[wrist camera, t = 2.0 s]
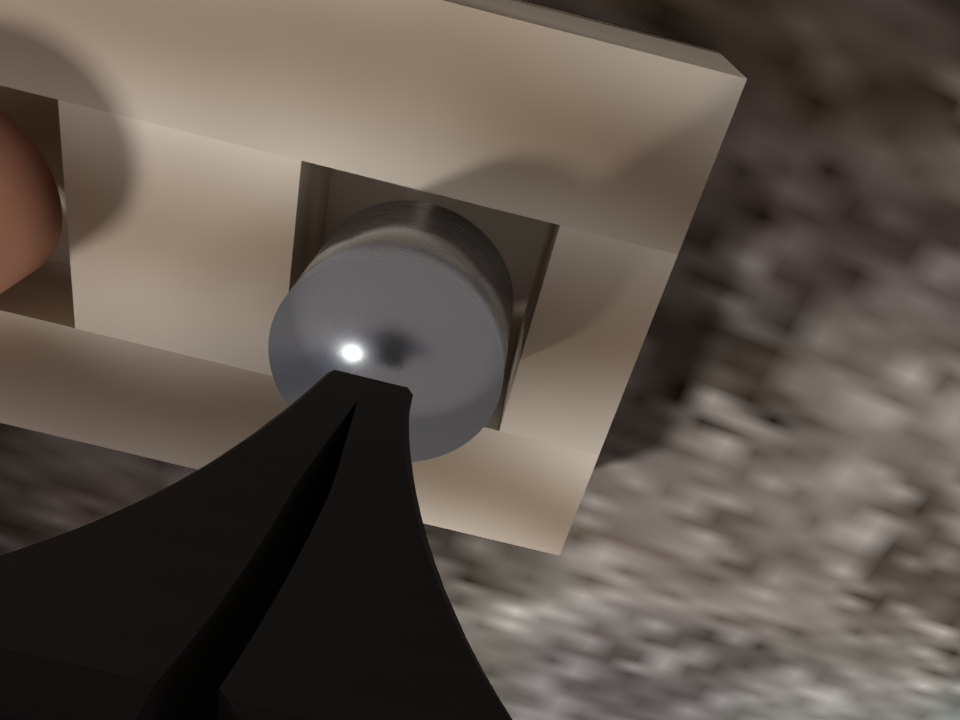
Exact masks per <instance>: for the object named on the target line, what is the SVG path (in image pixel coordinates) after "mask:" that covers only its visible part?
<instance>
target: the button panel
mask: <svg viewBox="0 0 960 720" xmlns="http://www.w3.org/2000/svg"><path fill="white" fill-rule="evenodd" d="M746 81H747V78H746V77H745V76H744V75H743V74H742V73H741V72H739V71H738V70H737V69H736V68H735V67H734V66H733V65H732V64H731V63H730V62H729V61H728V60H727V59H726V58H725V57H724V56H723V55H721V54H720V53H719V52H718V51H716V50H712V49H708V48H704V47H700V46H696V45H692V44H688V43H685V42H681V41H677V40H673V39H669V38H665V37H661V36H657V35H654V34H650V33H646V32H642V31H638V30H634V29H630V28H626V27H623V26H619V25H615V24H611V23H607V22H603V21H599V20H596V19H592V18H588V17H584V16H580V15H576V14H572V13H568V12H565V11H561V10H557V9H553V8H549V7H545V6H541V5H537V4H534V3H530V2H526V1H522V0H0V110H2V111H3V112H4V113H5V114H6V115H8V116H9V117H10V118H11V119H12V120H13V121H14V122H15V123H16V124H17V125H18V126H19V127H20V128H21V129H22V130H23V131H24V132H25V133H26V134H27V135H28V137H29V138H30V139H31V140H32V142H33V143H34V144H35V145H36V147H37V148H38V150H39V151H40V153H41V154H42V156H43V157H44V159H45V161H46V163H47V165H48V166H49V168H50V170H51V172H52V175H53V177H54V180H55V182H56V185H57V188H58V192H59V195H60V199H61V206H62V229H61V235H60V238H59V241H58V245H57V246H56V248H55V250H54V252H53V254H52V255H51V256H50V258H49V259H48V260H47V262H45V263H44V264H43V265H42V266H41V267H40V268H38V269H37V270H35V271H34V272H32V273H31V274H29V275H28V276H26V277H25V278H24V279H22V280H21V281H19V282H18V283H16V284H15V285H13V286H12V287H10V288H9V289H7V290H6V291H4V292H3V293H1V294H0V423H4V424H8V425H12V426H16V427H20V428H25V429H29V430H33V431H37V432H41V433H46V434H50V435H54V436H58V437H62V438H67V439H71V440H75V441H79V442H84V443H88V444H92V445H96V446H100V447H105V448H109V449H113V450H117V451H121V452H126V453H130V454H134V455H138V456H142V457H147V458H151V459H155V460H159V461H164V462H168V463H172V464H176V465H180V466H185V467H189V468H193V469H197V470H199V469H200V468H202V467H203V466H205V465H207V464H208V463H210V462H212V461H213V460H215V459H216V458H218V457H219V456H221V455H222V454H224V453H225V452H227V451H228V450H230V449H231V448H233V447H234V446H236V445H237V444H239V443H240V442H242V441H243V440H245V439H246V438H248V437H249V436H250V435H252V434H253V433H255V432H256V431H257V430H259V429H260V428H261V427H263V426H264V425H265V424H267V423H268V422H269V421H271V420H272V419H273V418H274V417H276V416H277V415H278V414H280V413H281V412H282V411H284V410H285V409H286V408H287V407H288V406H287V404H286V403H285V401H284V399H283V398H282V396H281V394H280V393H279V390H278V388H277V386H276V384H275V381H274V379H273V375H272V372H271V368H270V363H269V356H268V339H269V333H270V327H271V324H272V321H273V318H274V315H275V313H276V311H277V309H278V308H279V306H280V304H281V302H282V301H283V299H284V298H285V297H286V295H287V294H288V293H289V291H290V290H291V289H292V287H293V286H294V284H295V283H296V282H297V280H298V279H299V278H300V276H301V275H302V274H303V272H304V271H305V269H306V268H307V267H308V265H309V264H310V263H311V261H312V260H313V258H314V257H315V256H316V254H317V253H318V252H319V250H320V249H321V248H322V246H323V245H324V243H325V242H326V241H327V239H328V238H329V237H330V235H331V234H332V233H333V231H334V230H335V229H336V228H337V227H338V226H339V225H340V224H341V223H342V222H343V221H345V220H346V219H348V218H349V217H350V216H352V215H353V214H355V213H357V212H359V211H361V210H363V209H364V208H367V207H370V206H373V205H376V204H380V203H384V202H389V201H401V200H407V201H420V202H425V203H431V204H434V205H437V206H441V207H444V208H446V209H449V210H451V211H453V212H455V213H457V214H459V215H461V216H462V217H464V218H466V219H467V220H469V221H470V222H472V223H473V224H474V225H475V226H477V227H478V228H479V229H480V230H481V231H482V232H483V233H484V234H485V235H486V236H487V237H488V238H489V239H490V240H491V241H492V243H493V244H494V245H495V247H496V248H497V249H498V251H499V252H500V254H501V256H502V258H503V260H504V261H505V264H506V266H507V269H508V271H509V274H510V278H511V282H512V287H513V298H514V299H513V313H512V320H511V327H510V335H509V342H508V349H507V356H506V363H505V371H504V378H503V385H502V390H501V395H500V398H499V401H498V404H497V406H496V409H495V411H494V412H493V414H492V416H491V418H490V420H489V421H488V422H487V423H486V425H485V426H484V427H483V429H482V430H481V431H480V432H479V433H478V434H477V435H476V436H475V437H473V438H472V439H471V440H470V441H468V442H467V443H466V444H464V445H463V446H461V447H459V448H457V449H456V450H454V451H452V452H450V453H447V454H445V455H442V456H439V457H436V458H432V459H428V460H424V461H417V462H412V469H413V477H414V483H415V488H416V494H417V499H418V503H419V508H420V512H421V517H422V521H423V523H425V524H429V525H433V526H437V527H441V528H446V529H450V530H454V531H458V532H463V533H467V534H471V535H475V536H479V537H484V538H488V539H492V540H496V541H500V542H505V543H509V544H513V545H517V546H521V547H526V548H530V549H534V550H538V551H543V552H547V553H551V554H555V555H559V556H560V553H561V550H562V548H563V545H564V543H565V540H566V538H567V535H568V533H569V530H570V528H571V525H572V523H573V520H574V517H575V515H576V512H577V510H578V507H579V505H580V502H581V500H582V497H583V495H584V492H585V490H586V487H587V484H588V482H589V479H590V477H591V474H592V472H593V469H594V467H595V464H596V462H597V459H598V457H599V454H600V451H601V449H602V446H603V444H604V441H605V439H606V436H607V434H608V431H609V429H610V426H611V423H612V421H613V418H614V416H615V413H616V411H617V408H618V406H619V403H620V401H621V398H622V396H623V393H624V390H625V388H626V385H627V383H628V380H629V378H630V375H631V373H632V370H633V368H634V365H635V363H636V360H637V357H638V355H639V352H640V350H641V347H642V345H643V342H644V340H645V337H646V335H647V332H648V330H649V327H650V324H651V322H652V319H653V317H654V314H655V312H656V309H657V307H658V304H659V302H660V299H661V297H662V294H663V291H664V289H665V286H666V284H667V281H668V279H669V276H670V274H671V271H672V269H673V266H674V264H675V261H676V258H677V256H678V253H679V251H680V248H681V246H682V243H683V241H684V238H685V236H686V233H687V231H688V228H689V225H690V223H691V220H692V218H693V215H694V213H695V210H696V208H697V205H698V203H699V200H700V198H701V195H702V192H703V190H704V187H705V185H706V182H707V180H708V177H709V175H710V172H711V170H712V167H713V164H714V162H715V159H716V157H717V154H718V152H719V149H720V147H721V144H722V142H723V139H724V137H725V134H726V131H727V129H728V126H729V124H730V121H731V119H732V116H733V114H734V111H735V109H736V106H737V104H738V101H739V98H740V96H741V93H742V91H743V88H744V86H745V83H746Z"/></svg>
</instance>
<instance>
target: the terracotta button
mask: <svg viewBox="0 0 960 720" xmlns="http://www.w3.org/2000/svg"><path fill="white" fill-rule="evenodd" d="M61 229H62V206H61V199H60V195H59V192H58V188H57V185H56V182H55V180H54V177H53V175H52V172H51V170H50V168H49V166H48V165H47V163H46V161H45V159H44V157H43V156H42V154H41V153H40V151H39V150H38V148H37V147H36V145H35V144H34V143H33V142H32V140H31V139H30V138H29V137H28V135H27V134H26V133H25V132H24V131H23V130H22V129H21V128H20V127H19V126H18V125H17V124H16V123H15V122H14V121H13V120H12V119H11V118H10V117H9V116H8V115H6V114H5V113H4V112H3V111H2V110H0V294H1V293H3V292H4V291H6V290H7V289H9V288H10V287H12V286H13V285H15V284H16V283H18V282H19V281H21V280H22V279H24V278H25V277H26V276H28V275H29V274H31V273H32V272H34V271H35V270H37V269H38V268H40V267H41V266H42V265H43V264H44V263H45V262H47V260H48V259H49V258H50V256H51V255H52V254H53V252H54V250H55V248H56V246H57V245H58V241H59V238H60V235H61Z"/></svg>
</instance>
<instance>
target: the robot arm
mask: <svg viewBox="0 0 960 720" xmlns="http://www.w3.org/2000/svg"><path fill="white" fill-rule="evenodd" d="M412 398H413V394H412V393H411V391H410V390H409V388H408V387H404V386H400V385H396V384H392V383H387V382H383V381H379V380H375V379H371V378H367V377H363V376H359V375H355V374H350V373H346V372H342V371H338V370H332V371H331V372H329V373H327V374H326V375H325V376H323V377H322V378H321V379H320V380H319V381H318V382H317V383H316V384H315V385H313V386H312V387H311V388H310V389H309V390H308V391H307V392H305V393H304V394H303V395H302V396H301V397H300V398H298V399H297V400H296V401H295V402H293V403H292V404H291V405H290V406H289V407H287V408H286V409H285V410H284V411H282V412H281V413H280V414H278V415H277V416H276V417H274V418H273V419H272V420H271V421H269V422H268V423H267V424H265V425H264V426H263V427H261V428H260V429H259V430H257V431H256V432H255V433H253V434H252V435H250V436H249V437H248V438H246V439H245V440H243V441H242V442H240V443H239V444H237V445H236V446H234V447H233V448H231V449H230V450H228V451H227V452H225V453H224V454H222V455H221V456H219V457H218V458H216V459H215V460H213V461H212V462H210V463H208V464H207V465H205V466H203V467H202V468H200V469H199V470H197V471H195V472H194V473H192V474H190V475H188V476H187V477H185V478H183V479H181V480H180V481H178V482H176V483H174V484H172V485H170V486H168V487H167V488H165V489H163V490H161V491H159V492H157V493H155V494H153V495H151V496H149V497H147V498H145V499H143V500H141V501H139V502H137V503H135V504H133V505H131V506H128V507H126V508H124V509H122V510H120V511H117V512H115V513H113V514H111V515H108V516H106V517H104V518H102V519H100V520H97V521H95V522H93V523H90V524H88V525H85V526H83V527H80V528H78V529H75V530H72V531H70V532H67V533H64V534H62V535H59V536H57V537H54V538H51V539H48V540H45V541H43V542H40V543H37V544H34V545H31V546H28V547H25V548H23V549H20V550H17V551H13V552H10V553H7V554H4V555H1V556H0V720H512V718H511V717H510V715H509V714H508V712H507V710H506V709H505V707H504V706H503V704H502V702H501V701H500V699H499V697H498V696H497V694H496V692H495V691H494V689H493V687H492V685H491V684H490V682H489V680H488V679H487V677H486V675H485V673H484V672H483V670H482V668H481V666H480V664H479V662H478V660H477V658H476V656H475V654H474V652H473V650H472V649H471V647H470V645H469V643H468V641H467V639H466V637H465V634H464V632H463V630H462V628H461V625H460V623H459V621H458V619H457V616H456V614H455V612H454V610H453V607H452V605H451V603H450V601H449V598H448V596H447V594H446V592H445V589H444V586H443V584H442V581H441V578H440V575H439V573H438V570H437V567H436V564H435V562H434V558H433V555H432V552H431V549H430V546H429V543H428V539H427V536H426V532H425V529H424V525H423V521H422V517H421V512H420V508H419V503H418V499H417V494H416V488H415V483H414V477H413V469H412V461H411V454H410V442H409V412H410V408H411V403H412Z"/></svg>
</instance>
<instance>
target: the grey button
mask: <svg viewBox="0 0 960 720" xmlns="http://www.w3.org/2000/svg"><path fill="white" fill-rule="evenodd" d="M513 299H514V298H513V287H512V282H511V278H510V274H509V271H508V269H507V266H506V264H505V261H504V260H503V258H502V256H501V254H500V252H499V251H498V249H497V248H496V247H495V245H494V244H493V243H492V241H491V240H490V239H489V238H488V237H487V236H486V235H485V234H484V233H483V232H482V231H481V230H480V229H479V228H478V227H477V226H475V225H474V224H473V223H472V222H470V221H469V220H467V219H466V218H464V217H462V216H461V215H459V214H457V213H455V212H453V211H451V210H449V209H446V208H444V207H441V206H437V205H434V204H431V203H425V202H420V201H407V200H401V201H389V202H384V203H380V204H376V205H373V206H370V207H367V208H364V209H363V210H361V211H359V212H357V213H355V214H353V215H352V216H350V217H349V218H348V219H346V220H345V221H343V222H342V223H341V224H340V225H339V226H338V227H337V228H336V229H335V230H334V231H333V233H332V234H331V235H330V237H329V238H328V239H327V241H326V242H325V243H324V245H323V246H322V248H321V249H320V250H319V252H318V253H317V254H316V256H315V257H314V258H313V260H312V261H311V263H310V264H309V265H308V267H307V268H306V269H305V271H304V272H303V274H302V275H301V276H300V278H299V279H298V280H297V282H296V283H295V284H294V286H293V287H292V289H291V290H290V291H289V293H288V294H287V295H286V297H285V298H284V299H283V301H282V302H281V304H280V306H279V308H278V309H277V311H276V313H275V315H274V318H273V321H272V324H271V327H270V333H269V339H268V356H269V363H270V368H271V372H272V375H273V379H274V381H275V384H276V386H277V388H278V390H279V393H280V394H281V396H282V398H283V399H284V401H285V403H286V404H287V406H288V407H289V406H290V405H291V404H292V403H293V402H295V401H296V400H297V399H298V398H300V397H301V396H302V395H303V394H304V393H305V392H307V391H308V390H309V389H310V388H311V387H312V386H313V385H315V384H316V383H317V382H318V381H319V380H320V379H321V378H322V377H323V376H325V375H326V374H327V373H329V372H331V371H332V370H338V371H342V372H346V373H350V374H355V375H359V376H363V377H367V378H371V379H375V380H379V381H383V382H387V383H392V384H396V385H400V386H404V387H408V388H409V390H410V391H411V393H412V394H413V398H412V403H411V408H410V412H409V442H410V454H411V461H412V462H417V461H424V460H428V459H432V458H436V457H439V456H442V455H445V454H447V453H450V452H452V451H454V450H456V449H457V448H459V447H461V446H463V445H464V444H466V443H467V442H468V441H470V440H471V439H472V438H473V437H475V436H476V435H477V434H478V433H479V432H480V431H481V430H482V429H483V427H484V426H485V425H486V423H487V422H488V421H489V420H490V418H491V416H492V414H493V412H494V411H495V409H496V406H497V404H498V401H499V398H500V395H501V390H502V385H503V378H504V371H505V363H506V356H507V349H508V342H509V335H510V327H511V320H512V313H513Z"/></svg>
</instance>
